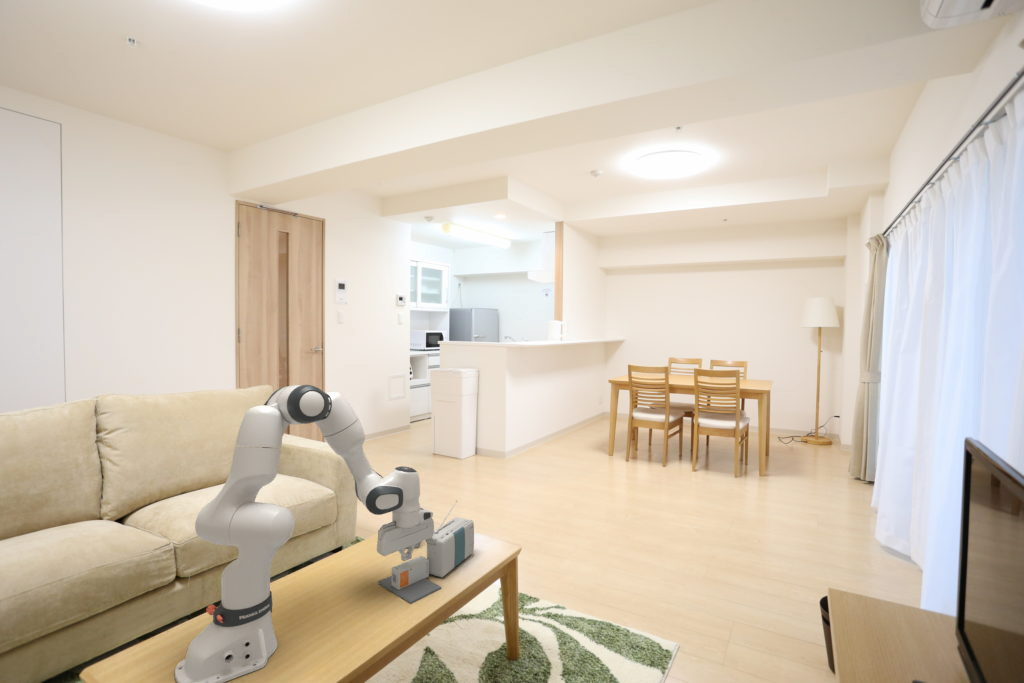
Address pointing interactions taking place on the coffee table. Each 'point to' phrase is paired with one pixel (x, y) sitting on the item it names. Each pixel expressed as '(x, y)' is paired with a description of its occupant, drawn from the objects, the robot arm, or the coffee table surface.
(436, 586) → the mat
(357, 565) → the coffee table surface
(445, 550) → the stereo radio cassette player
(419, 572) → the skincare box
